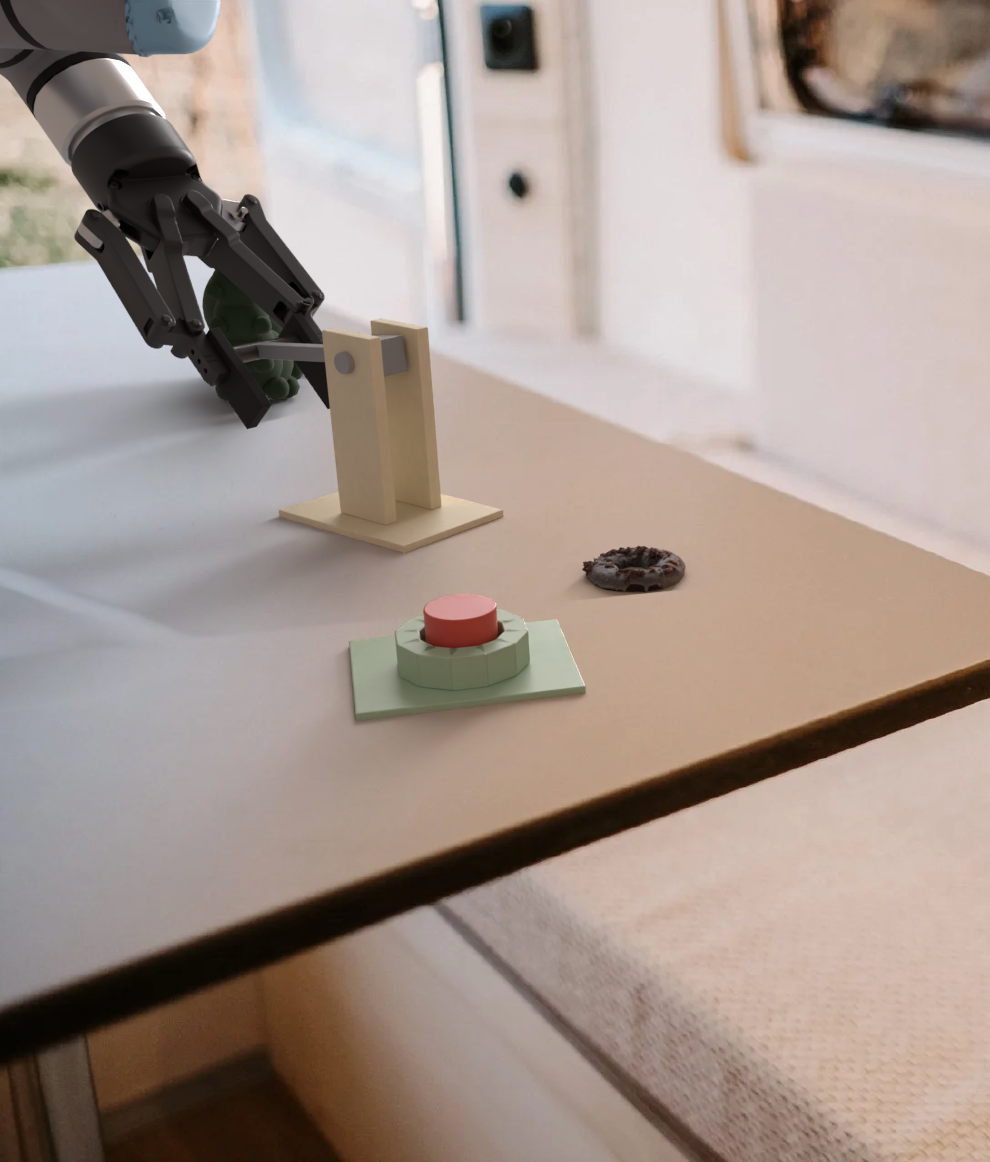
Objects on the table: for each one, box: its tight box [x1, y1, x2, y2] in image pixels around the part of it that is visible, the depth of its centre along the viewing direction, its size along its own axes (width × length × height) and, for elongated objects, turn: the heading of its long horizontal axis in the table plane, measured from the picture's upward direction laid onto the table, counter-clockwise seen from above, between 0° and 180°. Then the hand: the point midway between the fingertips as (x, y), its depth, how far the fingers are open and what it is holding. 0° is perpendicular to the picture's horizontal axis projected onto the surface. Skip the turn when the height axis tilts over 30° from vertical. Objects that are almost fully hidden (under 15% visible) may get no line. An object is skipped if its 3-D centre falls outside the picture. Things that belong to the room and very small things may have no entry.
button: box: [422, 593, 498, 648], centre depth 75 cm, size 4×4×2 cm
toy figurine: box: [201, 199, 304, 402], centre depth 130 cm, size 9×19×25 cm
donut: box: [581, 545, 686, 593], centre depth 91 cm, size 8×8×2 cm
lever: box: [233, 333, 408, 377], centre depth 99 cm, size 14×6×2 cm, turn 59°
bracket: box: [278, 318, 504, 554], centre depth 98 cm, size 12×9×14 cm
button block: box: [348, 608, 587, 722], centre depth 76 cm, size 11×9×4 cm
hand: (300, 406), depth 102 cm, fingers closed on lever, 6 cm apart
